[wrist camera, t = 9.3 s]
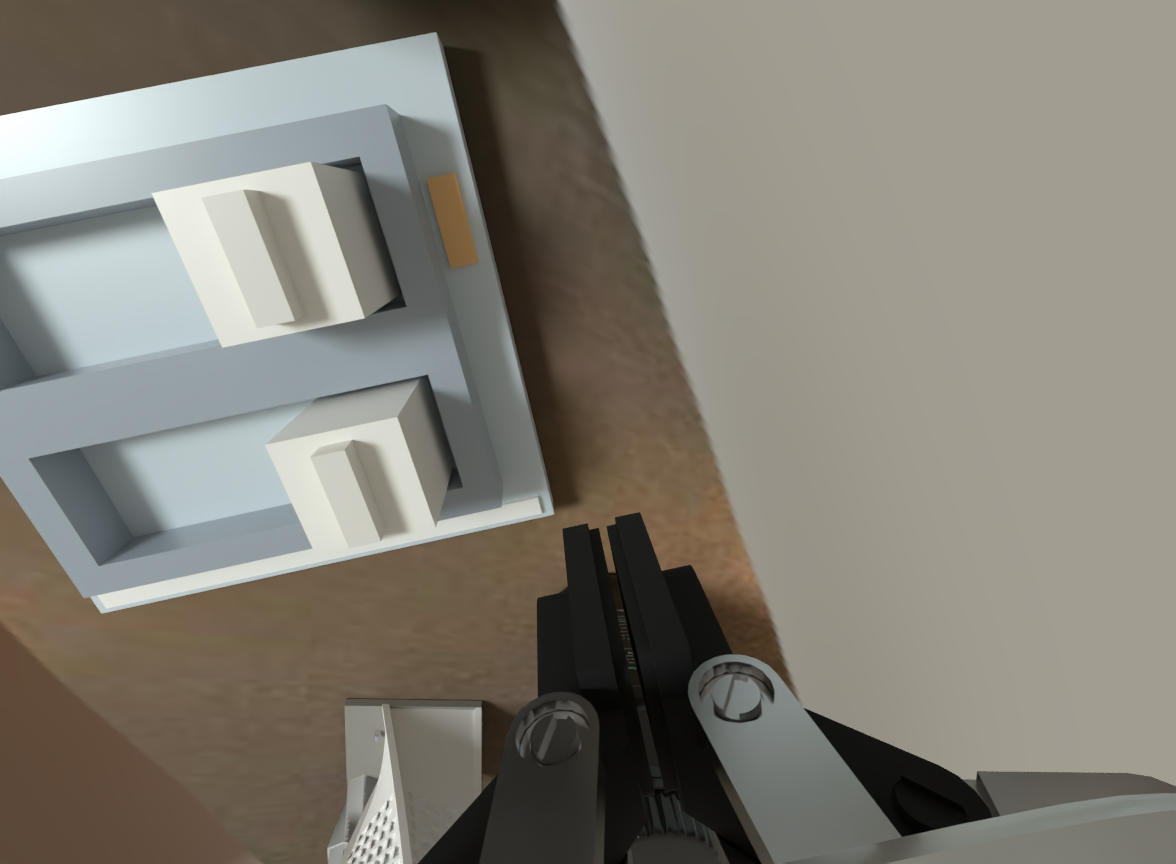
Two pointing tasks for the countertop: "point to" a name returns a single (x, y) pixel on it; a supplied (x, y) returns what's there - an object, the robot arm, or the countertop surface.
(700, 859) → the supplement bottle
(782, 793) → the robot arm
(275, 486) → the switch bank
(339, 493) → the tab
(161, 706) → the countertop surface
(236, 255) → the tab
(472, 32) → the countertop surface
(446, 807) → the skyscraper
